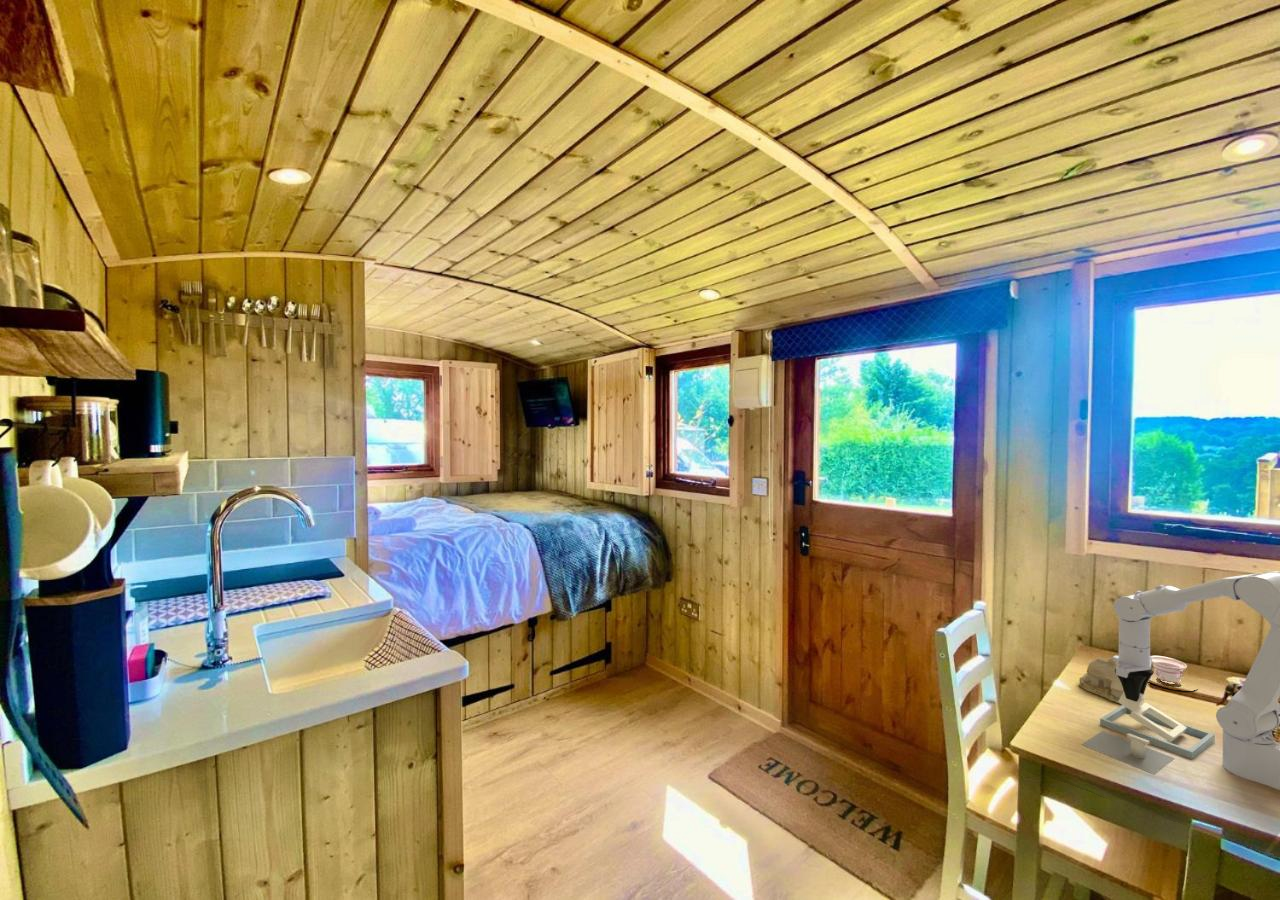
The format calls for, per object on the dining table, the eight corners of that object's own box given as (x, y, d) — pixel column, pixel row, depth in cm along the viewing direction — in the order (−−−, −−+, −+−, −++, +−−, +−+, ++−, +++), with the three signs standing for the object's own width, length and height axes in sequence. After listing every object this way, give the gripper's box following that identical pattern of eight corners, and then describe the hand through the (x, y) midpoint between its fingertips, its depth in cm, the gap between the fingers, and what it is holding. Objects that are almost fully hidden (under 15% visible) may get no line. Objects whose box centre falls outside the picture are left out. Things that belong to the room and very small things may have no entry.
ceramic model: (1151, 698, 148) (1151, 662, 148) (1137, 710, 142) (1136, 673, 142) (1088, 679, 160) (1088, 646, 160) (1072, 689, 154) (1072, 655, 154)
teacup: (1129, 672, 163) (1129, 652, 163) (1174, 674, 161) (1174, 653, 161) (1161, 692, 151) (1161, 670, 151) (1210, 693, 150) (1210, 671, 149)
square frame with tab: (1184, 732, 128) (1193, 717, 127) (1170, 742, 125) (1179, 727, 123) (1126, 696, 138) (1134, 683, 136) (1112, 705, 134) (1120, 691, 132)
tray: (1214, 744, 126) (1214, 734, 126) (1192, 763, 119) (1192, 752, 119) (1124, 713, 141) (1124, 703, 140) (1100, 728, 134) (1100, 718, 134)
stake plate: (1174, 762, 120) (1174, 740, 120) (1154, 779, 115) (1154, 755, 115) (1102, 734, 131) (1102, 714, 131) (1080, 748, 126) (1080, 727, 126)
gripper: (1126, 632, 140) (1126, 684, 140) (1100, 645, 133) (1100, 699, 133) (1162, 641, 134) (1162, 695, 134) (1137, 655, 127) (1137, 711, 127)
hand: (1134, 698), depth 133 cm, fingers closed on square frame with tab, 2 cm apart
